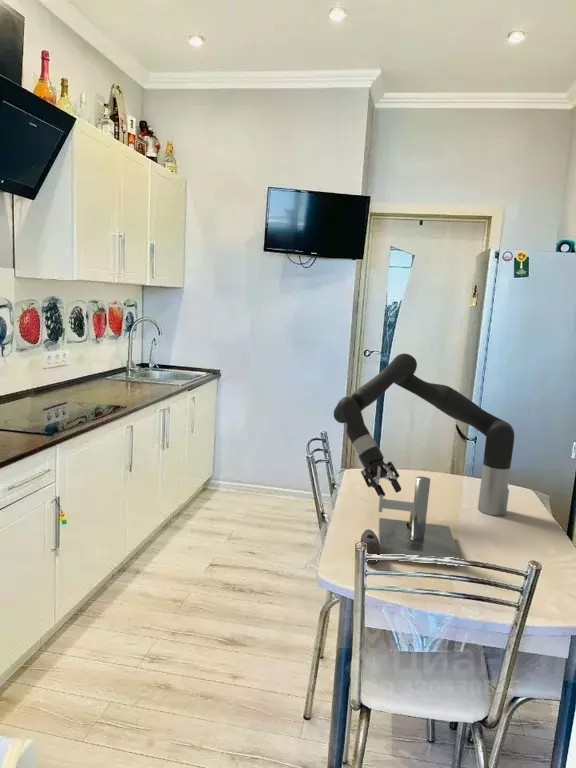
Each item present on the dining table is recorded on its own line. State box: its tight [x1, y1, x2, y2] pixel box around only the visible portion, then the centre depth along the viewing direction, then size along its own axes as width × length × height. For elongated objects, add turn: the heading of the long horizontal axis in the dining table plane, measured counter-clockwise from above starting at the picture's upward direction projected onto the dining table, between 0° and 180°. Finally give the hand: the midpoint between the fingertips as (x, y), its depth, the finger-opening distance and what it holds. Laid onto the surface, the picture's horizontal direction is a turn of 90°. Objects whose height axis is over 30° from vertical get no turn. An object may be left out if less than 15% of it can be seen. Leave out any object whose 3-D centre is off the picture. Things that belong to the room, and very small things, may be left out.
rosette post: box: [377, 475, 461, 569], centre depth 164 cm, size 23×22×22 cm
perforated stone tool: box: [360, 529, 380, 564], centre depth 158 cm, size 15×5×7 cm, turn 176°
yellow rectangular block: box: [408, 511, 413, 529], centre depth 172 cm, size 4×4×10 cm
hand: (391, 494), depth 180 cm, fingers open, 8 cm apart
